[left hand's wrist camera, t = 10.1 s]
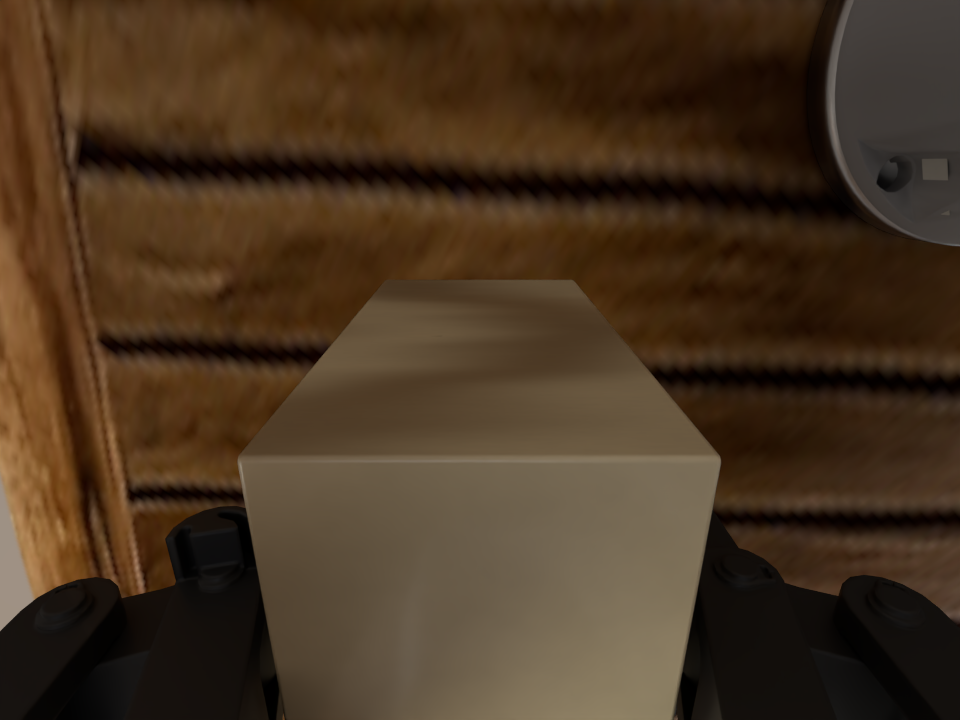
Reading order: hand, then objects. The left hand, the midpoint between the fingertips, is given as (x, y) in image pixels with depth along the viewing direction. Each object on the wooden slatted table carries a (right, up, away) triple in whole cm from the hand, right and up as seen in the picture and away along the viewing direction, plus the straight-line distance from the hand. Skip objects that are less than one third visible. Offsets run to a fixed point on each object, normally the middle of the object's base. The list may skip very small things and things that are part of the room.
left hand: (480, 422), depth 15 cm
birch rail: (0, -8, +3) cm, 9 cm away
